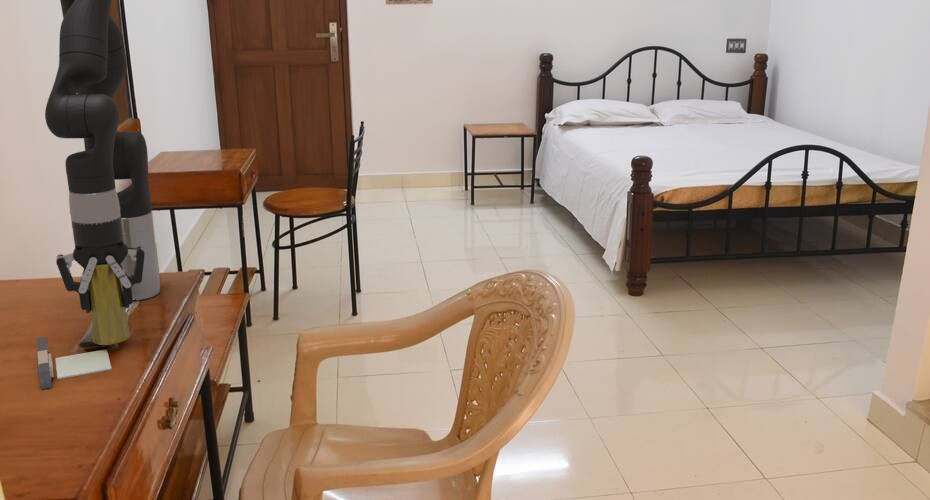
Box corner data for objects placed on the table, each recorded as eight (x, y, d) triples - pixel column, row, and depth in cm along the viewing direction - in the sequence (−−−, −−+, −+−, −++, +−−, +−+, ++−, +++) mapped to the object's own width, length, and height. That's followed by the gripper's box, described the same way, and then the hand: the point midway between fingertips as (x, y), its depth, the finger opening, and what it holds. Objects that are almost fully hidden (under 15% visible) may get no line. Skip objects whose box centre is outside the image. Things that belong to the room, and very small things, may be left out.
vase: (116, 346, 137) (106, 266, 133) (84, 344, 138) (73, 264, 134) (137, 333, 142) (128, 256, 138) (107, 331, 144) (96, 255, 140)
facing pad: (55, 359, 135) (55, 358, 135) (106, 350, 139) (106, 349, 138) (57, 379, 128) (57, 378, 128) (111, 369, 132) (111, 368, 132)
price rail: (39, 354, 137) (36, 336, 136) (51, 352, 138) (48, 334, 137) (41, 389, 125) (38, 370, 124) (54, 387, 126) (52, 368, 125)
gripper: (46, 225, 127) (61, 323, 132) (143, 217, 132) (154, 311, 138) (48, 213, 133) (62, 306, 139) (140, 205, 139) (150, 295, 144)
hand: (108, 308), depth 138 cm, fingers closed on vase, 5 cm apart
